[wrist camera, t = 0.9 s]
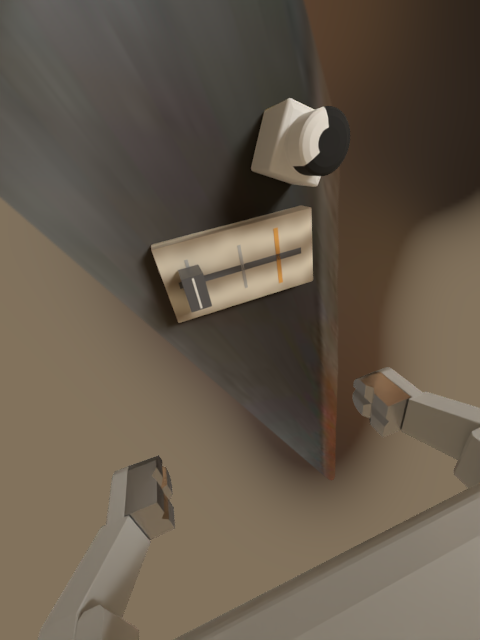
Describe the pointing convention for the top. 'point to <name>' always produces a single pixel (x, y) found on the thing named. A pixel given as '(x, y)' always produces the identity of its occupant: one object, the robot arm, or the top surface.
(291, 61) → the top surface
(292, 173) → the medicine bottle
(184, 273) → the fader knob
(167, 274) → the control strip
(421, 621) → the robot arm
